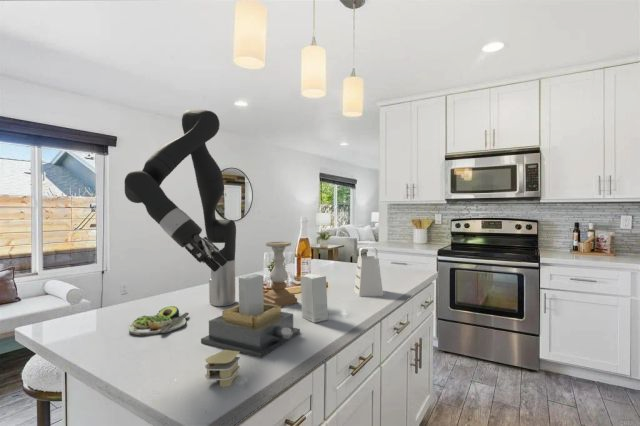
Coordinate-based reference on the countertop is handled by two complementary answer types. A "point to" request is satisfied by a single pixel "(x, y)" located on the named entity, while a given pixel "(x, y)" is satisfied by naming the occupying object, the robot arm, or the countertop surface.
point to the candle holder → (279, 278)
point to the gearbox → (251, 330)
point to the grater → (368, 275)
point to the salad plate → (159, 322)
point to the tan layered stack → (222, 367)
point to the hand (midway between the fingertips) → (221, 266)
